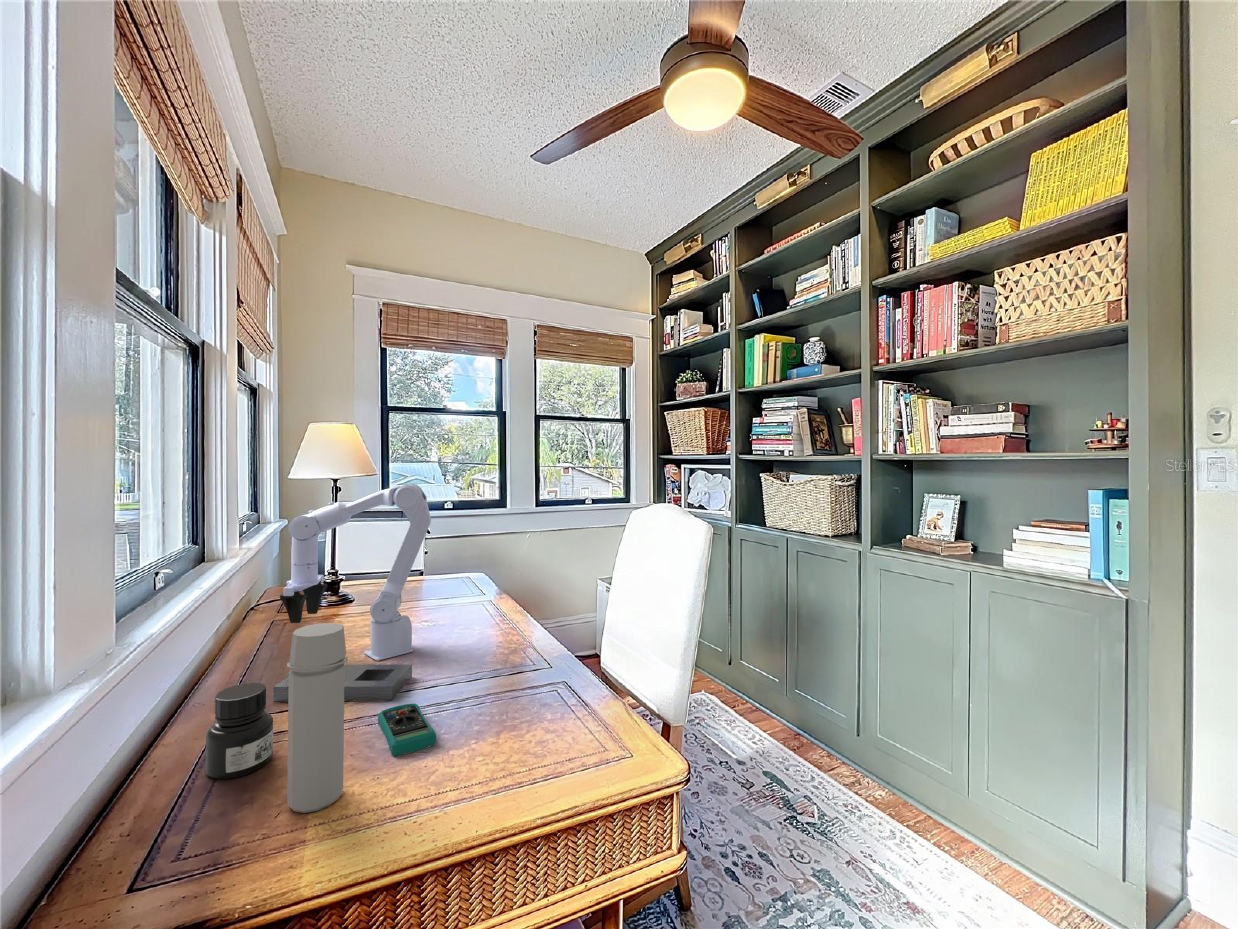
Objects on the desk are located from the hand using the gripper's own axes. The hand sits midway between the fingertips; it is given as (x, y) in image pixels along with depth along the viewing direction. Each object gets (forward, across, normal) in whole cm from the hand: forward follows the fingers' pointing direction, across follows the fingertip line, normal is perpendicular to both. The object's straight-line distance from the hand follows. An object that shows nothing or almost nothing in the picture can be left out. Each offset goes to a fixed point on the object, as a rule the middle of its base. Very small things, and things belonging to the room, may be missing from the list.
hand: (304, 618), depth 132 cm
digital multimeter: (+11, +36, +38) cm, 54 cm away
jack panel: (+10, +17, +18) cm, 27 cm away
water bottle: (+11, +54, +32) cm, 64 cm away
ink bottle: (+11, +46, +15) cm, 50 cm away
